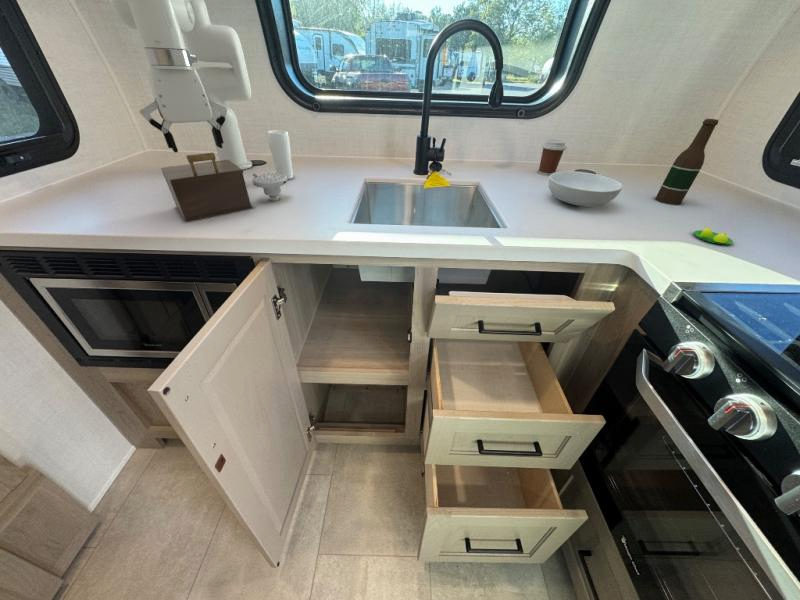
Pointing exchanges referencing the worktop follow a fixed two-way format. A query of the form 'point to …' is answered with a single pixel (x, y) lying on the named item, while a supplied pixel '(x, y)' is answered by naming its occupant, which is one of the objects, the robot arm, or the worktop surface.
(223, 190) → the chest
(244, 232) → the worktop surface
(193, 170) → the lid
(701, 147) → the beer bottle
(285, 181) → the showerhead
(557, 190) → the serving bowl
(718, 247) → the worktop surface
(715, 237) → the green disc yellow mounds
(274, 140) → the drinking glass
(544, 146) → the coffee cup
